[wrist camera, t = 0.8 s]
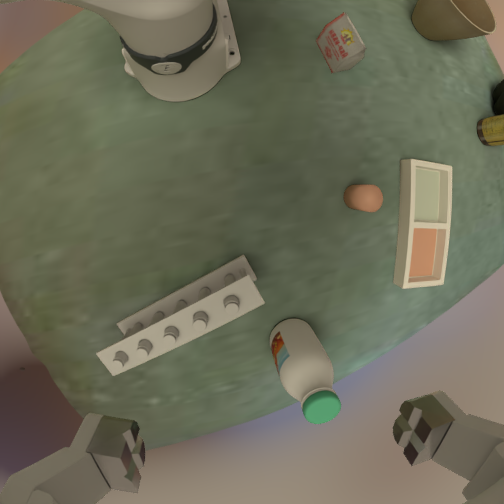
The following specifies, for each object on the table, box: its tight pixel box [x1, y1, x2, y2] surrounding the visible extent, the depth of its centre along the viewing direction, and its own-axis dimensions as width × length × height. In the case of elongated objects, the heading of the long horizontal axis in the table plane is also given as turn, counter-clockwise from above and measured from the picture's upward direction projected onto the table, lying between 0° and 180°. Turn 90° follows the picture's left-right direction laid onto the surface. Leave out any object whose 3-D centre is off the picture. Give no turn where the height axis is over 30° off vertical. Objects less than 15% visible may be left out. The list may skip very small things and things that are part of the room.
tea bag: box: [316, 12, 366, 73], centre depth 36 cm, size 4×7×10 cm, turn 22°
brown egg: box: [344, 185, 383, 212], centre depth 43 cm, size 4×4×6 cm
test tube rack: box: [96, 255, 265, 376], centre depth 41 cm, size 25×4×13 cm, turn 118°
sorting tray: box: [393, 159, 452, 289], centre depth 46 cm, size 22×10×4 cm, turn 0°
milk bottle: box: [269, 319, 341, 424], centre depth 40 cm, size 8×8×20 cm
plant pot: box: [412, 0, 496, 40], centre depth 32 cm, size 15×15×16 cm
